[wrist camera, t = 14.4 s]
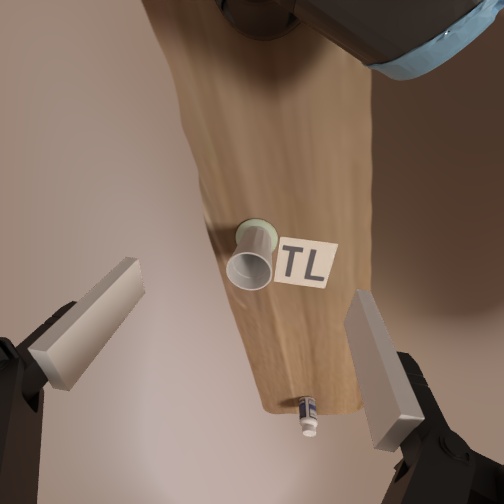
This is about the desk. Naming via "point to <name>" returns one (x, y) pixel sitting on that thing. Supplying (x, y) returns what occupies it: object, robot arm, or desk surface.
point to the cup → (251, 260)
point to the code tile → (304, 262)
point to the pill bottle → (308, 415)
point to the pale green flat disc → (257, 222)
